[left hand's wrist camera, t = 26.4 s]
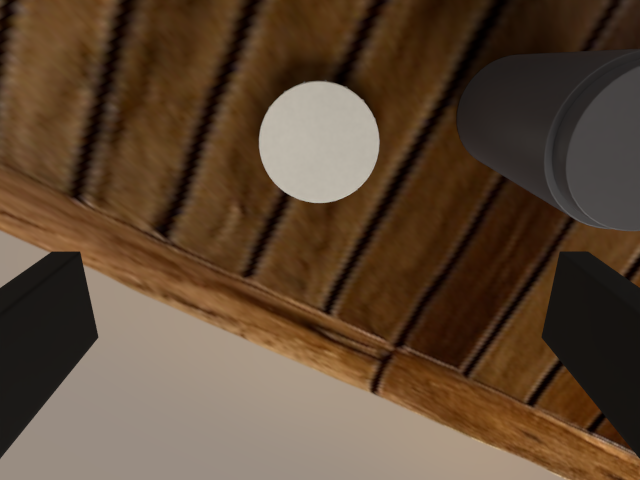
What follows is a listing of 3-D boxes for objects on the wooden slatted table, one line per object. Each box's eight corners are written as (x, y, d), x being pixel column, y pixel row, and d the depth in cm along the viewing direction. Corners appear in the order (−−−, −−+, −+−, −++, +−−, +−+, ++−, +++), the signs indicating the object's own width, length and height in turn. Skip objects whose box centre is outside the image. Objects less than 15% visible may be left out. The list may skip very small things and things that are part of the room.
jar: (551, 170, 40) (711, 243, 24) (448, 164, 40) (538, 234, 23) (579, 58, 36) (788, 53, 20) (466, 51, 36) (586, 40, 20)
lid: (304, 53, 36) (304, 53, 35) (401, 129, 39) (405, 132, 37) (238, 154, 39) (235, 157, 38) (331, 219, 42) (332, 225, 40)
